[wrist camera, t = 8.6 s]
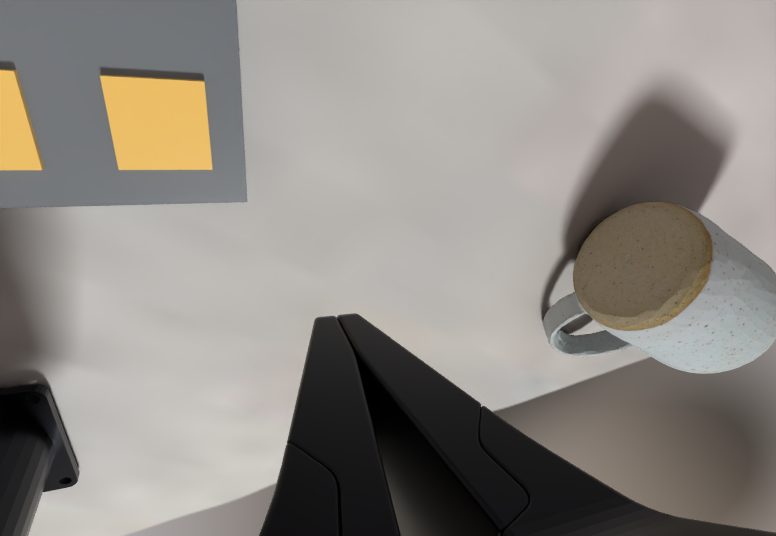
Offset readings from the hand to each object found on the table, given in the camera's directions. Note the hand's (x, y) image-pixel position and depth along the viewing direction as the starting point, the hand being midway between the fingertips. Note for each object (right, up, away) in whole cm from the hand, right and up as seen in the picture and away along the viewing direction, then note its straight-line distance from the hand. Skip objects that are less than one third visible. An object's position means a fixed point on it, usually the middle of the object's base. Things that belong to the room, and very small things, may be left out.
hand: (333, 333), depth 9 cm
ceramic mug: (+14, +1, +19) cm, 24 cm away
